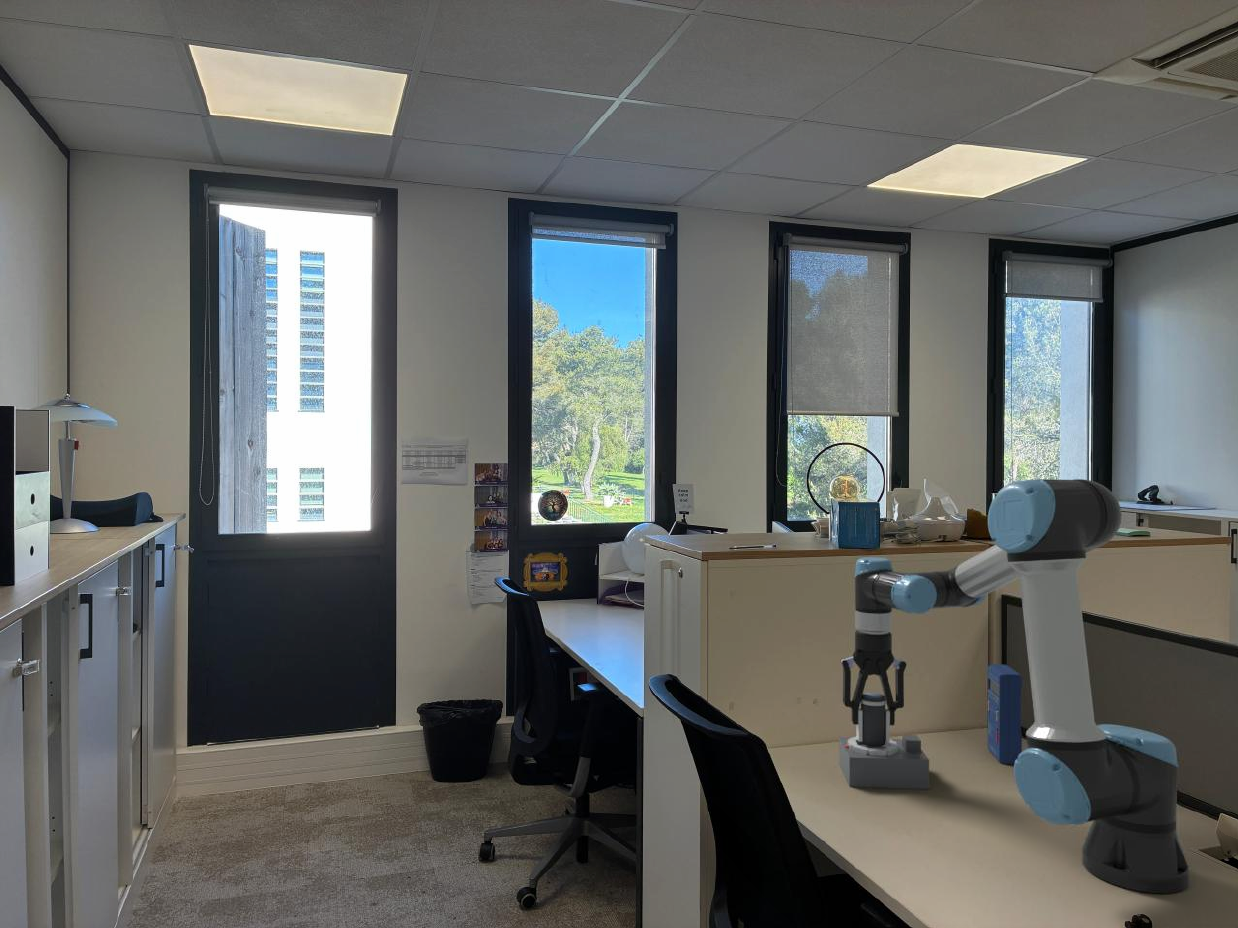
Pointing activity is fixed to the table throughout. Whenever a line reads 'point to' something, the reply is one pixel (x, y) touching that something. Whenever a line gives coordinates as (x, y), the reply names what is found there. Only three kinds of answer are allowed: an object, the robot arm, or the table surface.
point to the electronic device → (1004, 713)
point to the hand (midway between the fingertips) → (872, 739)
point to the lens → (873, 719)
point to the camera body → (885, 763)
